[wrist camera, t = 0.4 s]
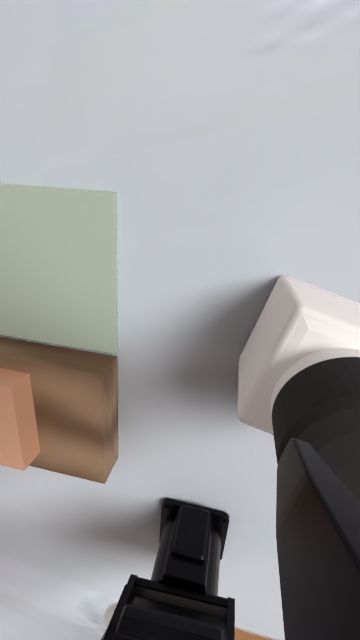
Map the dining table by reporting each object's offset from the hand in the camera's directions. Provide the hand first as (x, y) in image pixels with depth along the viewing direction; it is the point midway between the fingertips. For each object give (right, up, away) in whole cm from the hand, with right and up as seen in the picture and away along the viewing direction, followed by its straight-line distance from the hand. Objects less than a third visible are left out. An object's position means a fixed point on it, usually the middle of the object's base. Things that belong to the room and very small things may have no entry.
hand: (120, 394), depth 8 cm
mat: (-13, +6, +16) cm, 21 cm away
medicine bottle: (+10, +1, +13) cm, 17 cm away
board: (-14, -5, +20) cm, 25 cm away
